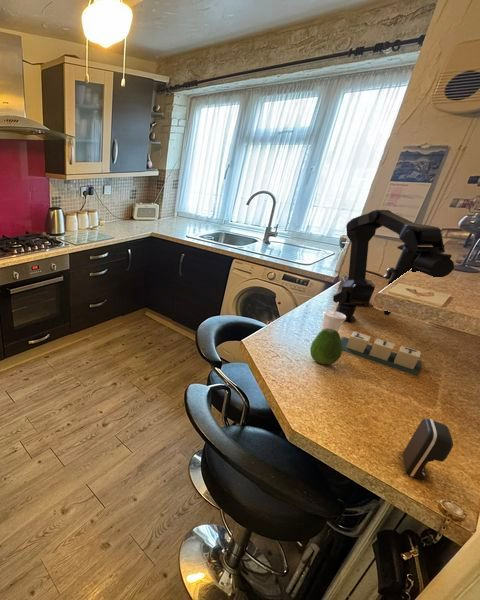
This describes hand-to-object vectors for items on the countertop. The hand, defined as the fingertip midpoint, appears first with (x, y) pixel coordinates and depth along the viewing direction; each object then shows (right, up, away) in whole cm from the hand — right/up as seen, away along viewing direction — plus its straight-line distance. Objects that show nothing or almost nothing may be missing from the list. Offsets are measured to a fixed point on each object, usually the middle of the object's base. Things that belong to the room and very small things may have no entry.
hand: (388, 310), depth 107 cm
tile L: (-11, -13, +1) cm, 16 cm away
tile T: (-2, -16, -7) cm, 18 cm away
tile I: (-7, -14, -3) cm, 16 cm away
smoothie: (-16, -10, +7) cm, 20 cm away
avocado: (-28, -16, -6) cm, 33 cm away
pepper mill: (+20, +3, +34) cm, 40 cm away
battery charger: (-33, -32, -40) cm, 61 cm away
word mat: (-7, -15, -3) cm, 16 cm away
